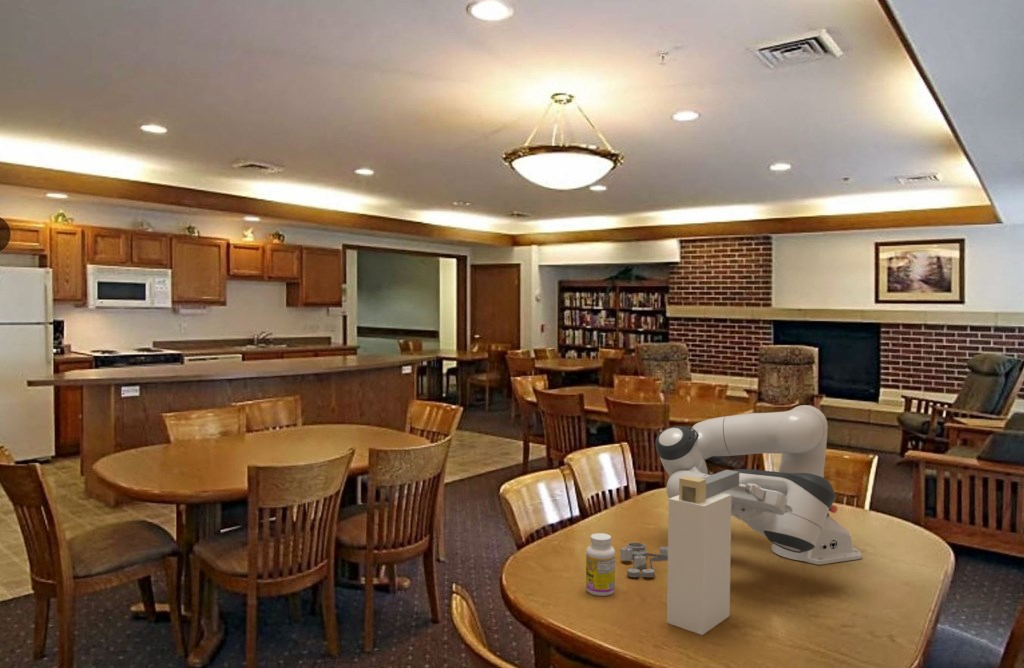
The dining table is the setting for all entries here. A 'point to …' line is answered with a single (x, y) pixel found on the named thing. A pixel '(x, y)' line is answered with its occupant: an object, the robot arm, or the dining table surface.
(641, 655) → the dining table surface
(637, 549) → the pulley system
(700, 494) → the bar
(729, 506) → the pillar
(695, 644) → the dining table surface
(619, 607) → the dining table surface
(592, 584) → the supplement bottle
